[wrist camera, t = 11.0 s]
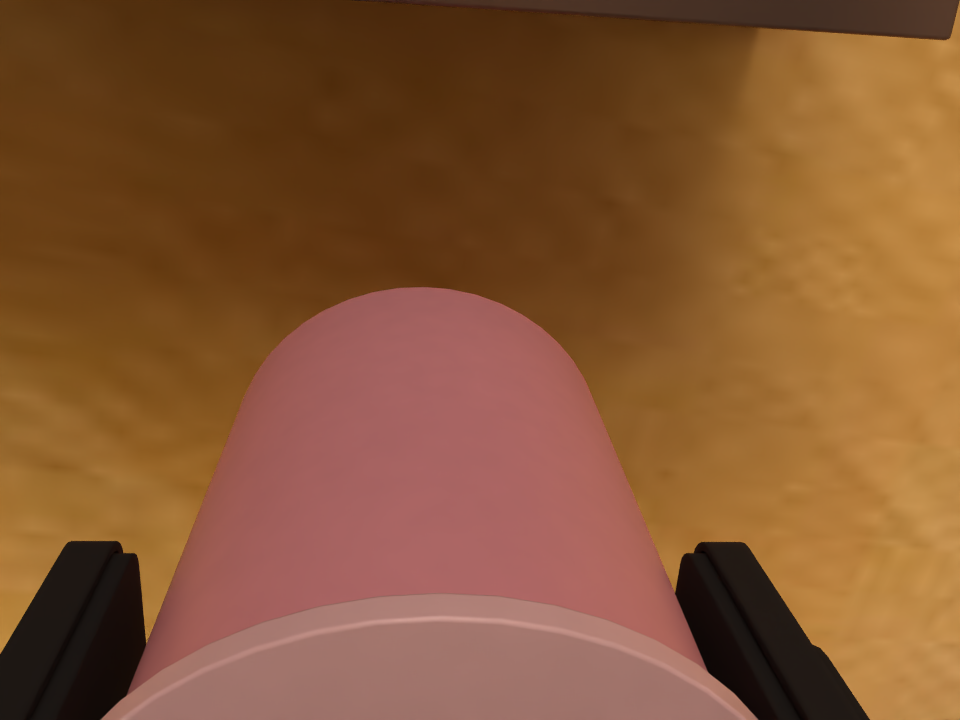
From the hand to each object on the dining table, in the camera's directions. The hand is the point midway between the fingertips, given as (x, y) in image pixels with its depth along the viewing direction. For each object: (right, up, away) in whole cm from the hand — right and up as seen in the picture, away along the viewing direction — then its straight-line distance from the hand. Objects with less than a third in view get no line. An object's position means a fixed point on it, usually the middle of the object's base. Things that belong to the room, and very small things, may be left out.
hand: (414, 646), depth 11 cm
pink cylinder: (0, +2, +4) cm, 4 cm away
